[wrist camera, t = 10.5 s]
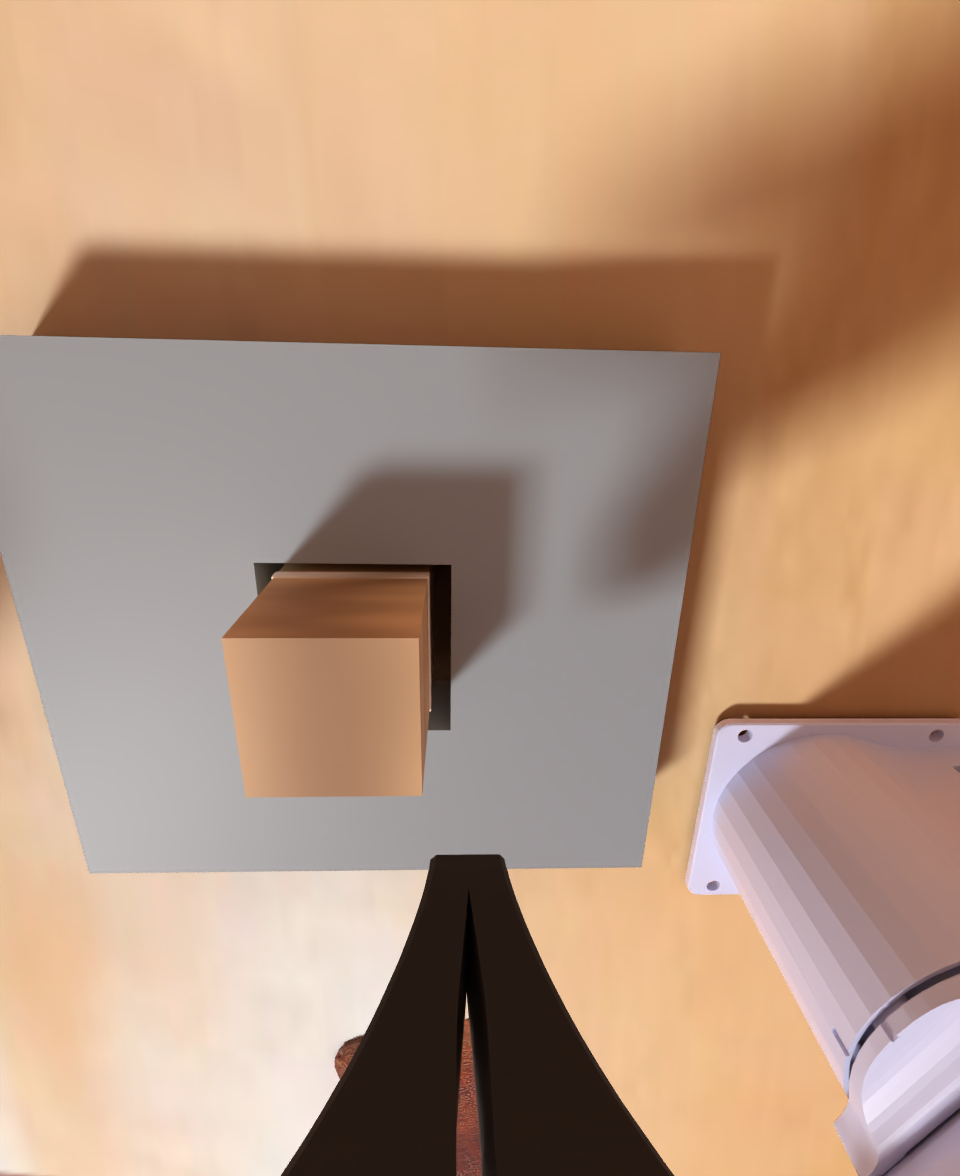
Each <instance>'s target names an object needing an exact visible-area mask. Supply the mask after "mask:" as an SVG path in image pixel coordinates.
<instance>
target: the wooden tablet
mask: <svg viewBox="0 0 960 1176" xmlns="http://www.w3.org/2000/svg"><path fill="white" fill-rule="evenodd" d="M362 1038H363V1037H362ZM362 1038H359V1039H356V1040H354V1041H350V1042H348V1043H347V1044H345V1045H344V1046H342V1048H341V1049H340V1050H339V1052H338V1053H337V1055H336V1057H335V1068H336V1071H337V1074H338V1076H339V1078H340V1079H341V1077H342V1075H343V1074H344V1072H345V1070H346V1068H347V1067H348V1065H349V1063H350V1061H351V1059H352V1057H353V1055H354V1054H355V1052H356V1050H357V1048H358V1046H359V1044H360V1042H361V1040H362ZM456 1176H482V1168H481V1151H480V1135H479V1124H478V1113H477V1102H476V1090H475V1079H474V1068H473V1057H472V1046H471V1035H470V1024H469V1018H468V1019H466V1020H465V1021H464V1035H463V1048H462V1062H461V1076H460V1090H459V1104H458V1118H457V1131H456Z"/></svg>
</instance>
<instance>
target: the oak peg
mask: <svg viewBox="0 0 960 1176" xmlns="http://www.w3.org/2000/svg"><path fill="white" fill-rule="evenodd" d="M271 578H272V580H271V581H270V582H269V583H268V585H267V586H266V587H265V588H264V589H263V590H262V592H261V593H260V594H259V595H258V596H257V597H256V599H255V600H254V601H253V602H252V603H251V604H250V606H249V607H248V608H247V609H246V610H245V611H244V613H243V614H242V615H241V616H240V617H239V618H238V619H237V621H236V622H235V623H234V624H233V625H232V626H231V628H230V629H229V630H228V631H227V632H226V633H225V635H224V636H223V637H222V638H221V639H222V646H223V652H224V659H225V665H226V672H227V678H228V685H229V692H230V698H231V705H232V711H233V718H234V724H235V731H236V738H237V744H238V751H239V757H240V764H241V770H242V777H243V784H244V790H245V797H246V798H253V797H358V796H422V793H423V781H424V769H425V757H426V745H427V733H428V721H429V711H431V685H432V674H433V662H434V613H433V565H428V564H325V563H286V564H285V565H284V566H283V567H282V568H281V570H280V571H279V572H275V573H274V574H273V575H272V577H271Z"/></svg>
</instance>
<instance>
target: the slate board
mask: <svg viewBox="0 0 960 1176" xmlns="http://www.w3.org/2000/svg"><path fill="white" fill-rule="evenodd" d="M720 355H721V353H709V352H668V351H627V350H587V349H546V348H505V347H465V346H424V345H383V344H343V343H302V342H261V341H221V340H180V339H139V338H99V337H58V336H17V335H0V552H1V556H2V560H3V563H4V567H5V571H6V574H7V578H8V581H9V585H10V589H11V592H12V596H13V599H14V603H15V607H16V610H17V614H18V617H19V621H20V625H21V628H22V632H23V636H24V639H25V643H26V646H27V650H28V654H29V657H30V661H31V664H32V668H33V672H34V675H35V679H36V683H37V686H38V690H39V693H40V697H41V701H42V704H43V708H44V711H45V715H46V719H47V722H48V726H49V729H50V733H51V737H52V740H53V744H54V748H55V751H56V755H57V758H58V762H59V766H60V769H61V773H62V776H63V780H64V784H65V787H66V791H67V794H68V798H69V802H70V805H71V809H72V813H73V816H74V820H75V823H76V827H77V831H78V834H79V838H80V841H81V845H82V849H83V852H84V856H85V860H86V863H87V867H88V870H89V873H168V872H258V871H349V870H429V865H430V859H432V858H433V857H434V856H435V855H463V854H500V855H501V856H502V857H503V858H504V859H505V863H506V868H507V869H529V868H620V867H642V860H643V854H644V847H645V841H646V834H647V828H648V822H649V815H650V809H651V802H652V796H653V789H654V783H655V776H656V770H657V763H658V757H659V750H660V744H661V737H662V731H663V724H664V718H665V711H666V705H667V698H668V692H669V685H670V679H671V672H672V666H673V659H674V653H675V647H676V640H677V634H678V627H679V621H680V614H681V608H682V601H683V595H684V588H685V582H686V575H687V569H688V562H689V556H690V549H691V543H692V536H693V530H694V523H695V517H696V510H697V504H698V497H699V491H700V484H701V478H702V472H703V465H704V459H705V452H706V446H707V439H708V433H709V426H710V420H711V413H712V407H713V400H714V394H715V387H716V381H717V374H718V368H719V361H720ZM286 563H325V564H428V565H451V680H432V685H431V711H429V721H428V733H427V745H426V757H425V769H424V781H423V793H422V796H358V797H253V798H246V797H245V790H244V784H243V777H242V770H241V764H240V757H239V751H238V744H237V738H236V731H235V724H234V718H233V711H232V705H231V698H230V692H229V685H228V678H227V672H226V665H225V659H224V652H223V646H222V639H221V638H222V637H223V636H224V635H225V633H226V632H227V631H228V630H229V629H230V628H231V626H232V625H233V624H234V623H235V622H236V621H237V619H238V618H239V617H240V616H241V615H242V614H243V613H244V611H245V610H246V609H247V608H248V607H249V606H250V604H251V603H252V602H253V601H254V600H255V599H256V597H257V596H258V595H259V594H260V593H261V592H262V590H263V589H264V588H265V587H266V586H267V585H268V583H269V582H270V581H271V580H272V578H271V577H272V575H273V574H274V573H275V572H279V571H280V570H281V568H282V567H283V566H284V565H285V564H286Z"/></svg>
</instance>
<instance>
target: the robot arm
mask: <svg viewBox="0 0 960 1176" xmlns="http://www.w3.org/2000/svg"><path fill="white" fill-rule="evenodd" d="M743 730H747V732H746V733H745V734H744V735H741V736H738V735H739V733H740V732H741V731H743ZM933 731H934V732H933ZM932 732H933V733H932ZM931 733H932V734H931ZM930 734H931V735H930ZM711 881H712V882H711ZM685 883H686V885H687V887H688V889H689V891H690V892H692V893H693V894H699V895H703V894H740V896H741V898H742V900H743V902H744V903H745V905H746V907H747V909H748V911H749V913H750V915H751V917H752V918H753V920H754V922H755V924H756V926H757V928H758V930H759V932H760V934H761V935H762V937H763V939H764V941H765V943H766V945H767V947H768V949H769V951H770V952H771V954H772V956H773V958H774V960H775V962H776V964H777V966H778V968H779V969H780V971H781V973H782V975H783V977H784V979H785V981H786V983H787V985H788V986H789V988H790V990H791V992H792V994H793V996H794V998H795V1000H796V1002H797V1003H798V1005H799V1007H800V1009H801V1011H802V1013H803V1015H804V1017H805V1018H806V1020H807V1022H808V1024H809V1026H810V1028H811V1030H812V1032H813V1034H814V1035H815V1037H816V1039H817V1041H818V1043H819V1045H820V1047H821V1049H822V1051H823V1052H824V1054H825V1056H826V1058H827V1060H828V1062H829V1064H830V1066H831V1068H832V1069H833V1071H834V1073H835V1075H836V1077H837V1079H838V1081H839V1083H840V1085H841V1086H842V1088H843V1090H844V1092H845V1094H846V1096H847V1098H848V1100H849V1101H848V1104H847V1106H846V1108H845V1110H844V1111H843V1113H842V1114H841V1115H840V1116H839V1117H838V1118H837V1119H836V1120H835V1122H834V1127H835V1129H836V1131H837V1133H838V1135H839V1137H840V1139H841V1141H842V1143H843V1145H844V1147H845V1149H846V1151H847V1153H848V1155H849V1157H850V1159H851V1161H852V1163H853V1165H854V1167H855V1169H856V1171H857V1173H858V1175H859V1176H960V718H848V719H724V720H722V721H720V722H719V723H718V724H717V725H716V726H715V728H714V730H713V736H712V741H711V746H710V751H709V757H708V762H707V767H706V772H705V778H704V783H703V788H702V793H701V799H700V804H699V809H698V814H697V820H696V825H695V830H694V835H693V841H692V846H691V851H690V856H689V862H688V867H687V872H686V878H685ZM466 993H467V1002H468V1013H469V1024H470V1035H471V1046H472V1057H473V1068H474V1079H475V1090H476V1102H477V1113H478V1124H479V1135H480V1151H481V1168H482V1176H674V1175H673V1173H672V1172H671V1171H670V1170H669V1168H668V1167H667V1165H666V1164H665V1163H664V1161H663V1160H662V1158H661V1157H660V1155H659V1154H658V1153H657V1151H656V1150H655V1148H654V1147H653V1145H652V1144H651V1143H650V1141H649V1140H648V1138H647V1137H646V1135H645V1134H644V1133H643V1131H642V1130H641V1128H640V1127H639V1125H638V1124H637V1123H636V1121H635V1120H634V1118H633V1117H632V1115H631V1114H630V1113H629V1111H628V1110H627V1108H626V1107H625V1105H624V1104H623V1103H622V1101H621V1099H620V1098H619V1096H618V1095H617V1093H616V1092H615V1090H614V1089H613V1087H612V1085H611V1084H610V1082H609V1081H608V1079H607V1078H606V1076H605V1074H604V1073H603V1071H602V1070H601V1068H600V1067H599V1065H598V1063H597V1062H596V1060H595V1058H594V1057H593V1055H592V1053H591V1051H590V1050H589V1048H588V1046H587V1045H586V1043H585V1041H584V1040H583V1038H582V1036H581V1035H580V1033H579V1031H578V1029H577V1027H576V1026H575V1024H574V1022H573V1020H572V1018H571V1017H570V1015H569V1013H568V1011H567V1009H566V1007H565V1006H564V1004H563V1002H562V1000H561V998H560V996H559V994H558V992H557V990H556V988H555V986H554V984H553V982H552V980H551V978H550V976H549V974H548V972H547V970H546V968H545V966H544V964H543V962H542V959H541V957H540V955H539V953H538V951H537V948H536V946H535V944H534V942H533V939H532V937H531V935H530V933H529V930H528V928H527V926H526V923H525V921H524V918H523V916H522V913H521V910H520V908H519V905H518V902H517V900H516V897H515V894H514V891H513V888H512V885H511V882H510V879H509V875H508V871H507V868H506V863H505V859H504V858H503V857H502V856H501V855H500V854H463V855H435V856H434V857H433V858H432V859H430V865H429V871H428V876H427V880H426V884H425V888H424V892H423V895H422V899H421V902H420V905H419V908H418V911H417V914H416V917H415V920H414V923H413V925H412V928H411V931H410V933H409V936H408V939H407V941H406V944H405V946H404V949H403V952H402V954H401V957H400V959H399V962H398V964H397V966H396V969H395V971H394V973H393V975H392V977H391V980H390V982H389V984H388V986H387V989H386V991H385V993H384V995H383V997H382V1000H381V1002H380V1004H379V1006H378V1008H377V1010H376V1012H375V1015H374V1017H373V1019H372V1021H371V1023H370V1025H369V1027H368V1029H367V1031H366V1033H365V1035H364V1036H363V1038H362V1040H361V1042H360V1044H359V1046H358V1048H357V1050H356V1052H355V1054H354V1055H353V1057H352V1059H351V1061H350V1063H349V1065H348V1067H347V1068H346V1070H345V1072H344V1074H343V1075H342V1077H341V1079H340V1081H339V1082H338V1084H337V1086H336V1088H335V1089H334V1091H333V1093H332V1095H331V1096H330V1098H329V1100H328V1101H327V1103H326V1105H325V1107H324V1108H323V1110H322V1112H321V1113H320V1115H319V1117H318V1118H317V1120H316V1122H315V1123H314V1125H313V1127H312V1128H311V1130H310V1132H309V1133H308V1135H307V1136H306V1138H305V1140H304V1141H303V1143H302V1144H301V1146H300V1147H299V1149H298V1150H297V1152H296V1153H295V1155H294V1156H293V1158H292V1159H291V1161H290V1162H289V1164H288V1165H287V1167H286V1169H285V1170H284V1172H283V1173H282V1175H281V1176H456V1131H457V1118H458V1104H459V1090H460V1076H461V1062H462V1048H463V1035H464V1021H465V1007H466Z"/></svg>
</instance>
